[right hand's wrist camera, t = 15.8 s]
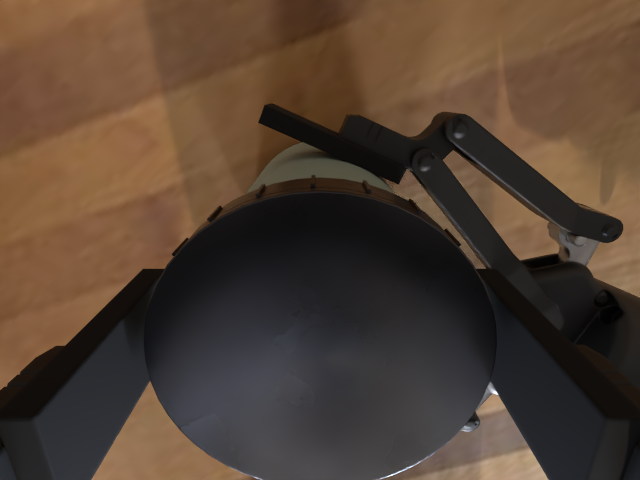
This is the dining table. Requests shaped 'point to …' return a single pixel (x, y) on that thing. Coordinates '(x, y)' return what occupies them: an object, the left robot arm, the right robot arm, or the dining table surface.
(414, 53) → the dining table surface
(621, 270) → the dining table surface
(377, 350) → the lid
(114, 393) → the right robot arm
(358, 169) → the jar
